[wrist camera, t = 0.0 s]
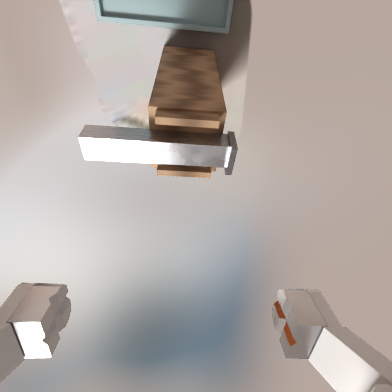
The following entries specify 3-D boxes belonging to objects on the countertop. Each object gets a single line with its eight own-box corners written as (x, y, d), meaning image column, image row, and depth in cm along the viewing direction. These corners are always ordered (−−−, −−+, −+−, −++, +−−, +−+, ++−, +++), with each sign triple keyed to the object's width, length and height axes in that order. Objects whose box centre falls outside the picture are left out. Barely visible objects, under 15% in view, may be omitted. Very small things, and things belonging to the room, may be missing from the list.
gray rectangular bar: (91, 149, 36) (83, 166, 33) (84, 121, 33) (74, 138, 30) (228, 157, 37) (231, 175, 34) (233, 131, 34) (237, 148, 31)
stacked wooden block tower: (164, 95, 56) (150, 176, 37) (164, 45, 49) (146, 113, 30) (208, 98, 57) (216, 179, 38) (213, 50, 50) (228, 119, 30)
